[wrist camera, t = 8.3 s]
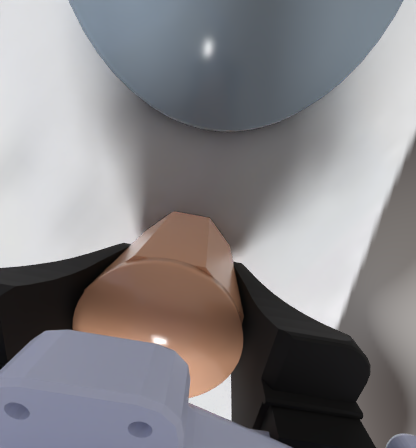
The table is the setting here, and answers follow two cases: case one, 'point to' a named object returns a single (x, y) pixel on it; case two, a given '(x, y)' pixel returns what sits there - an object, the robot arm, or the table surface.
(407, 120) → the table surface
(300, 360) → the robot arm
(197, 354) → the tan piece
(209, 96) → the lid
